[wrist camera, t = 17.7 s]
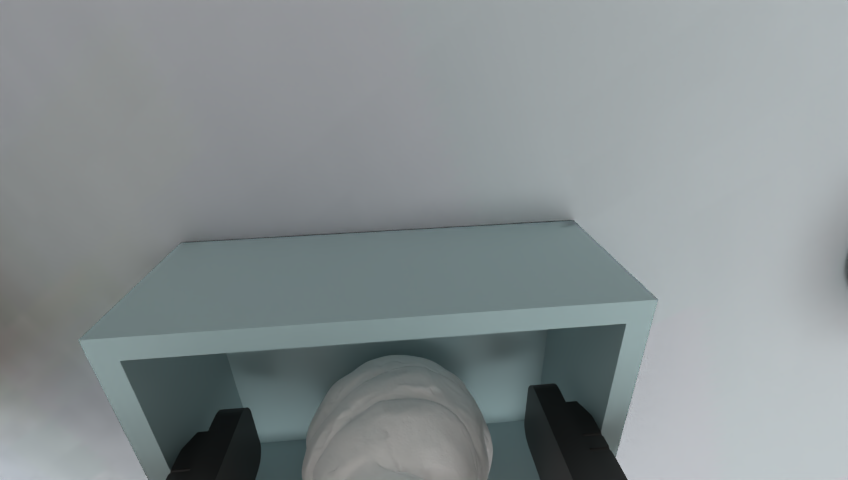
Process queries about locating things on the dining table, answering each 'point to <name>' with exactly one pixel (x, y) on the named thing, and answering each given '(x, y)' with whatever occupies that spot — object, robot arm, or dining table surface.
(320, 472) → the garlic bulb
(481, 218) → the dining table surface
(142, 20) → the dining table surface
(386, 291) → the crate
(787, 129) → the dining table surface
